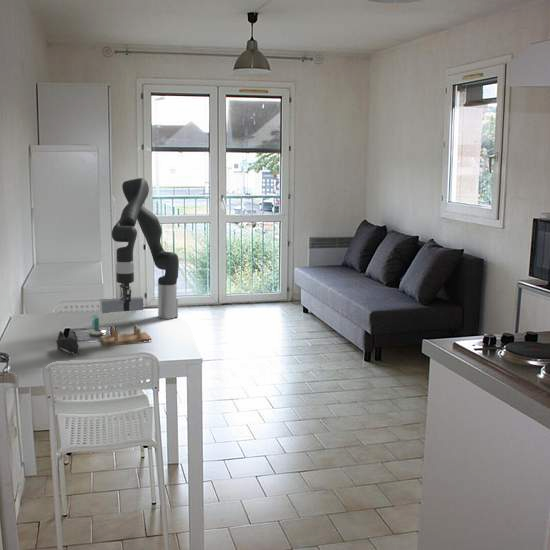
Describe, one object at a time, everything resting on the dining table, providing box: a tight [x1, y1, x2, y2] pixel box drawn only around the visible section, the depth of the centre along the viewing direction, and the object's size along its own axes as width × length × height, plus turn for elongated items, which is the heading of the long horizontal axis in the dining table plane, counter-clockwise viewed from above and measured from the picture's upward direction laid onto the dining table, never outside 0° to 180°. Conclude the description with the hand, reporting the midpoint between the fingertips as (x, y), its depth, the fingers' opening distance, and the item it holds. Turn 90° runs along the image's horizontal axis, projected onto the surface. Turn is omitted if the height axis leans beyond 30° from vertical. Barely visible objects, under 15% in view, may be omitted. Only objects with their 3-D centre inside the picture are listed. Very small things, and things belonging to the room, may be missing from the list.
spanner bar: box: [99, 296, 144, 314], centre depth 310 cm, size 18×6×5 cm, turn 113°
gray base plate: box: [77, 327, 111, 342], centre depth 322 cm, size 15×18×1 cm
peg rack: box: [100, 324, 152, 347], centre depth 313 cm, size 20×11×6 cm, turn 113°
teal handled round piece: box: [89, 314, 108, 336], centre depth 324 cm, size 8×14×6 cm, turn 23°
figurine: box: [56, 330, 80, 358], centre depth 294 cm, size 8×10×15 cm
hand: (125, 309), depth 311 cm, fingers closed on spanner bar, 4 cm apart
